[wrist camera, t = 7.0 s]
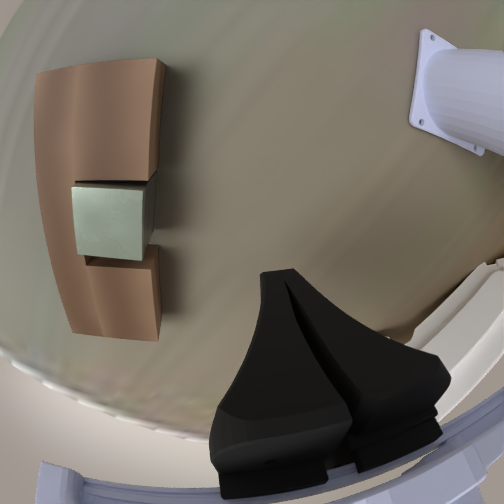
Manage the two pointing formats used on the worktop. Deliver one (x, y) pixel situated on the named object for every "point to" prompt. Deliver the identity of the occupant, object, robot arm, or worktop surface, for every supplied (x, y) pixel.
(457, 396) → the shelf bracket
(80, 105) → the brown u-shaped block
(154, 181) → the sage green cube
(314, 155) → the worktop surface
